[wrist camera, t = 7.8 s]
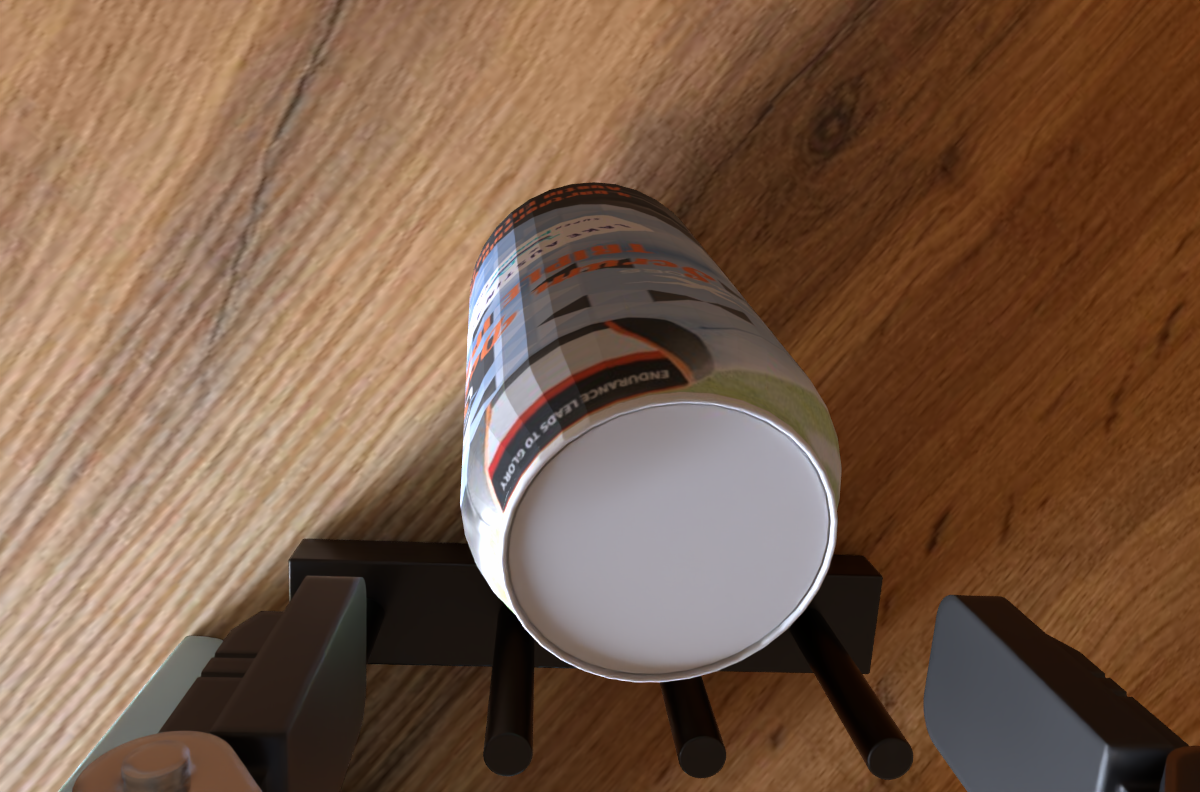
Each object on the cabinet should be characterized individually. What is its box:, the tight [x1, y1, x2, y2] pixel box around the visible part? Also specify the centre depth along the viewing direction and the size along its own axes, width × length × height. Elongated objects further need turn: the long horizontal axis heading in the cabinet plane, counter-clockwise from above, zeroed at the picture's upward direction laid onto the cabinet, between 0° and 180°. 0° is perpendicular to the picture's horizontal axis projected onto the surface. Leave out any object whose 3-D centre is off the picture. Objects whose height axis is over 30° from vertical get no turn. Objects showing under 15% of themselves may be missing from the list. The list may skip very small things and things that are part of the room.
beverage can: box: [460, 182, 842, 682], centre depth 18 cm, size 6×7×12 cm
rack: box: [288, 539, 913, 780], centre depth 21 cm, size 3×16×8 cm, turn 87°
